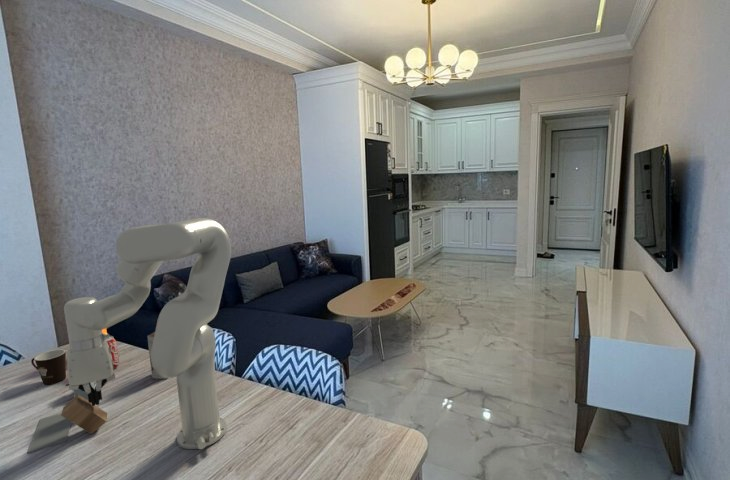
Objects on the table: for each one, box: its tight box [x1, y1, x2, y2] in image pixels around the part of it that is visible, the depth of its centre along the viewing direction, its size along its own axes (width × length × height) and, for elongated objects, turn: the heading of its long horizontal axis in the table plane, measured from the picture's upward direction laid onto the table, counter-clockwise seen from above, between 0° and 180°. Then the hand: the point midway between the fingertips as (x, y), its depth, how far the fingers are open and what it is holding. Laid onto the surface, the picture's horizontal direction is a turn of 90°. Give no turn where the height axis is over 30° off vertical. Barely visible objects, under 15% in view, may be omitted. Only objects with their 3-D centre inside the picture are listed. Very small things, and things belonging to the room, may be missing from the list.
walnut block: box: [60, 394, 108, 435], centre depth 106 cm, size 4×4×10 cm
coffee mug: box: [30, 348, 67, 386], centre depth 136 cm, size 12×9×10 cm
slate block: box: [72, 382, 99, 408], centre depth 114 cm, size 4×4×10 cm
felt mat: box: [27, 412, 72, 454], centre depth 108 cm, size 17×8×1 cm, turn 32°
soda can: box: [105, 335, 120, 370], centre depth 143 cm, size 7×7×12 cm
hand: (96, 402), depth 107 cm, fingers closed
